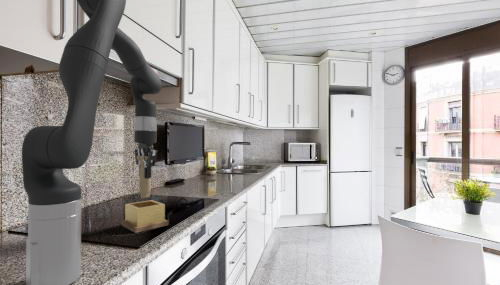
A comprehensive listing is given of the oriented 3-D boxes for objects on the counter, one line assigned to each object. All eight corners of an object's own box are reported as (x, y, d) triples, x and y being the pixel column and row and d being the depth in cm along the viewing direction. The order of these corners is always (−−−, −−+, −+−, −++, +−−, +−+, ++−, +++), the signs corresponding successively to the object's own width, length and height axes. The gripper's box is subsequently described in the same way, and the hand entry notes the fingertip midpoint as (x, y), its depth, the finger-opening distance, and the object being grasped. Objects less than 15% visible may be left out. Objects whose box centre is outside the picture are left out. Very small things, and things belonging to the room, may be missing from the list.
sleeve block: (135, 232, 88) (135, 210, 88) (121, 225, 96) (121, 204, 96) (168, 224, 97) (168, 204, 97) (152, 218, 105) (153, 199, 105)
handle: (144, 199, 93) (145, 156, 93) (133, 197, 96) (134, 155, 96) (156, 197, 97) (156, 155, 97) (145, 195, 100) (145, 155, 100)
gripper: (127, 130, 99) (126, 176, 99) (144, 128, 89) (143, 180, 89) (146, 130, 104) (146, 175, 104) (165, 129, 94) (164, 178, 94)
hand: (145, 177), depth 96 cm, fingers closed on handle, 3 cm apart
